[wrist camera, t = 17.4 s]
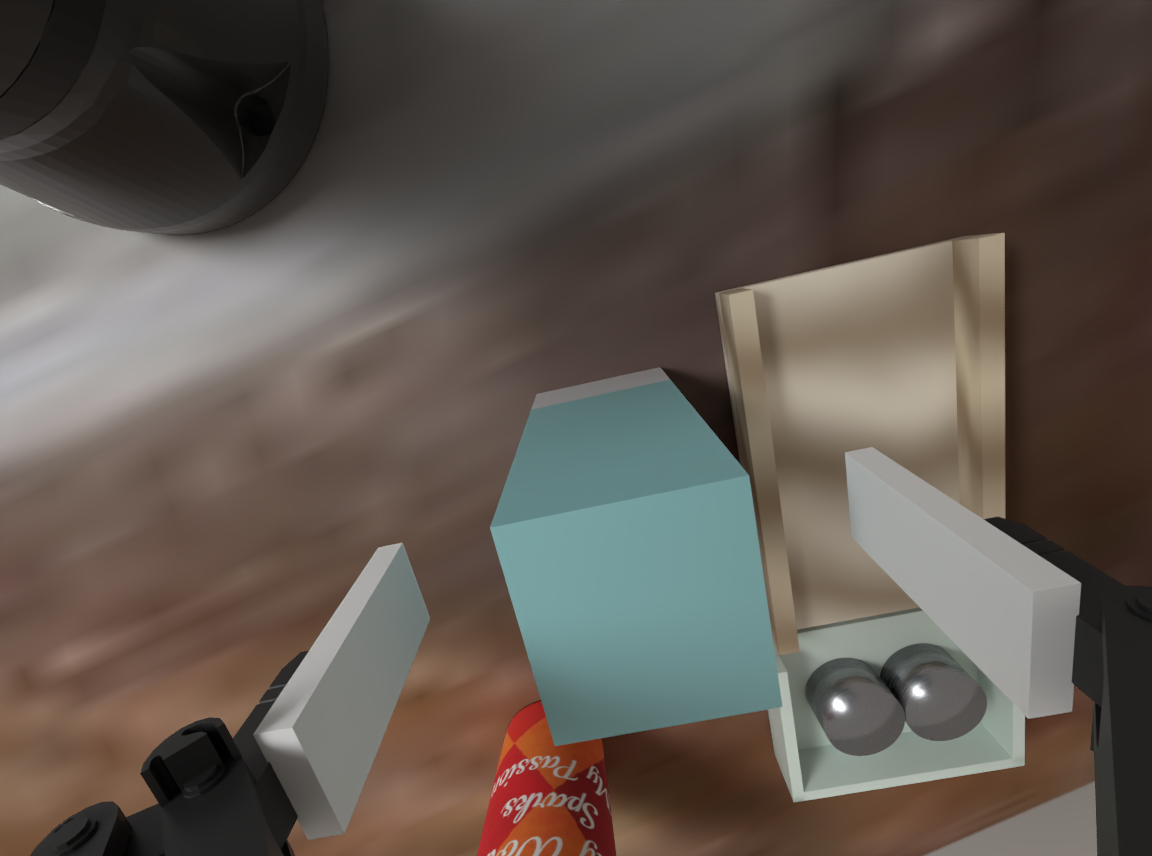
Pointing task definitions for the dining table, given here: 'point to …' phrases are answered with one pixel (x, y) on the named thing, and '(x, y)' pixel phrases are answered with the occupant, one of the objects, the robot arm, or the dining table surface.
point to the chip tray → (910, 758)
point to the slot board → (863, 409)
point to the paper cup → (547, 795)
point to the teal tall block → (634, 563)
